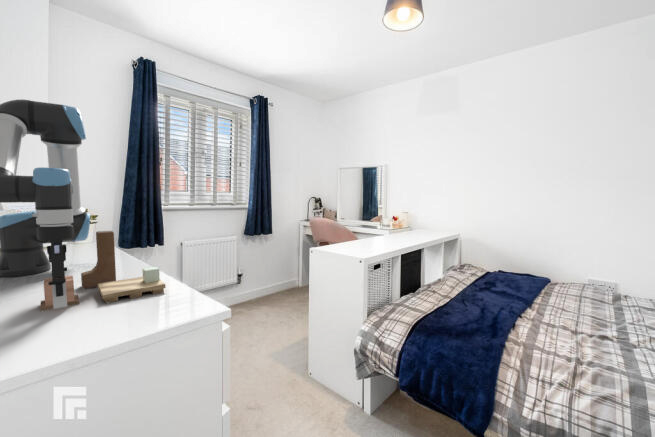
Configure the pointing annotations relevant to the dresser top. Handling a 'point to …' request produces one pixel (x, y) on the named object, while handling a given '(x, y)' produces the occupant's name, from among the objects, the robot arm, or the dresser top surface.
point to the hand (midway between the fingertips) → (60, 300)
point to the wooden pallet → (128, 288)
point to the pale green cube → (150, 274)
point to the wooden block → (102, 261)
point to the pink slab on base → (48, 294)
